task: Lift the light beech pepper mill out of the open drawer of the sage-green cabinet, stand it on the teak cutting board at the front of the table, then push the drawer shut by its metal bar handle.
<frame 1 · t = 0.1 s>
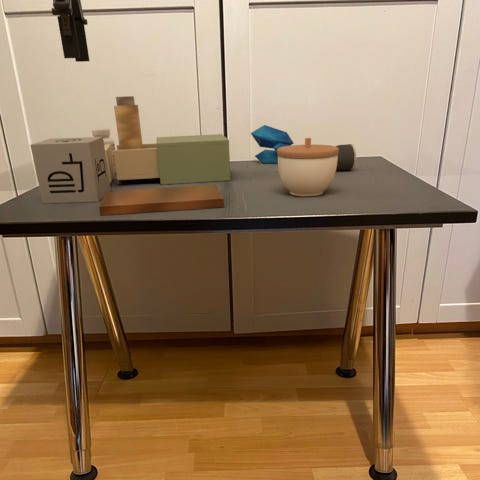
hand: (77, 60, 94), 23 cm above the table, tool pointing down, fingers open, 13 cm apart
pepper mill: (134, 171, 103), point 2 cm above the table, touching drawer
supplement bottle: (107, 173, 116), on the table
cutting board: (162, 203, 83), on the table
flashlight: (319, 172, 107), on the table
cabinet: (193, 177, 106), on the table
drawer: (126, 161, 102), point 4 cm above the table, slide at 10.0 cm, touching pepper mill
icon cube: (78, 197, 91), on the table
trinket box: (306, 194, 88), on the table
crystal: (272, 163, 122), on the table
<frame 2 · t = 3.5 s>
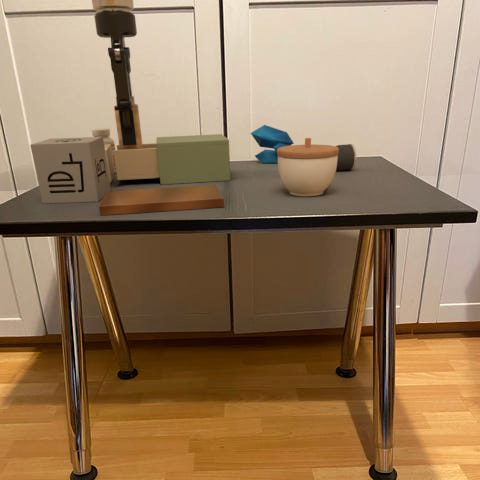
hand: (130, 143, 101), 8 cm above the table, tool pointing down, fingers closed on pepper mill, 5 cm apart
pepper mill: (134, 171, 103), point 2 cm above the table, touching drawer, gripper
everything else where it was.
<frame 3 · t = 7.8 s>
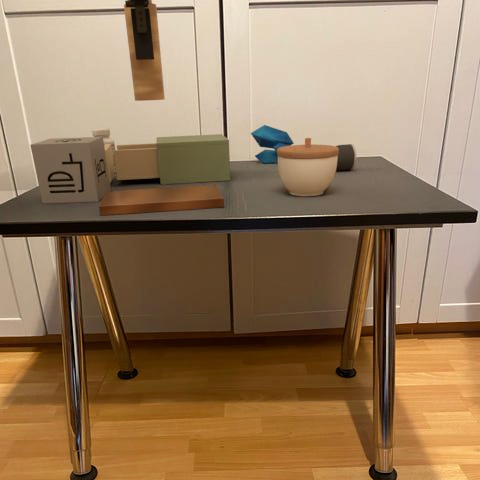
hand: (145, 59, 75), 22 cm above the table, tool pointing down, fingers closed on pepper mill, 5 cm apart
pepper mill: (149, 99, 78), point 16 cm above the table, touching gripper
drawer: (126, 161, 102), point 4 cm above the table, slide at 10.0 cm
everything else where it was.
when the fingers open (7 cm above the table, at t = 12.1 s): pepper mill stays where it is, resting on cutting board.
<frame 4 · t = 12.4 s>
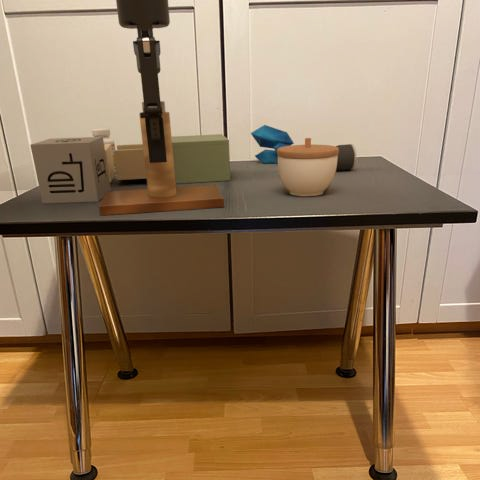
hand: (158, 158, 80), 7 cm above the table, tool pointing down, fingers open, 8 cm apart
pepper mill: (162, 194, 83), point 2 cm above the table, touching cutting board
everything else where it was.
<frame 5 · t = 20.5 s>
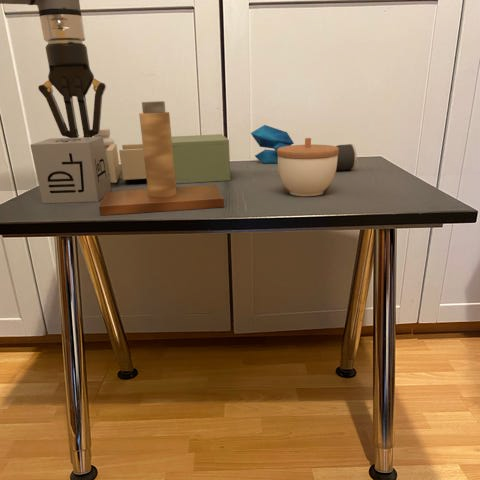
hand: (87, 171, 102), 3 cm above the table, tool pointing down, fingers closed
drawer: (132, 161, 102), point 4 cm above the table, slide at 8.8 cm, touching gripper
everything else where it was.
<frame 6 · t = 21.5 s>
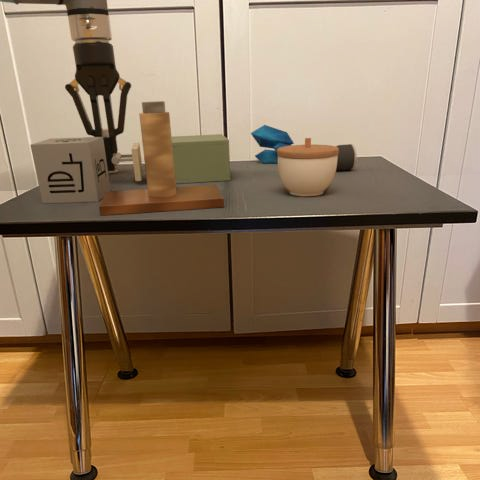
hand: (111, 169, 102), 3 cm above the table, tool pointing down, fingers closed
drawer: (156, 160, 103), point 4 cm above the table, slide at 3.8 cm, touching gripper
everything else where it was.
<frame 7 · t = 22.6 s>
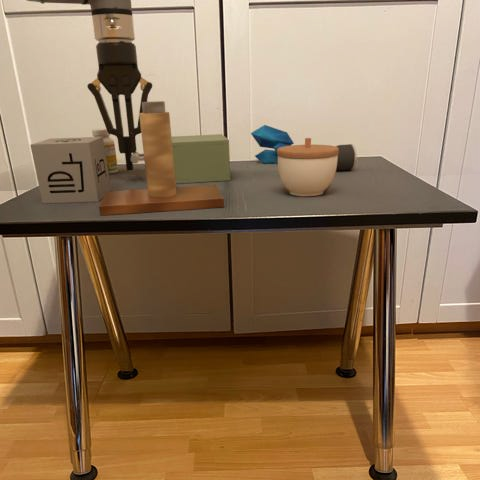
hand: (130, 169, 103), 3 cm above the table, tool pointing down, fingers closed
drawer: (174, 159, 103), point 4 cm above the table, slide at 0.0 cm, touching cabinet, gripper
everything else where it was.
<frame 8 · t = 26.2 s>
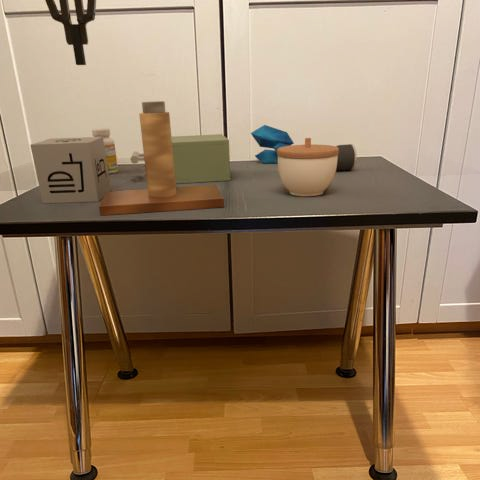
hand: (81, 64, 91), 22 cm above the table, tool pointing down, fingers closed
drawer: (174, 159, 103), point 4 cm above the table, slide at 0.0 cm, touching cabinet
everything else where it was.
at the end: pepper mill inside the target area on the cutting board (0.1 cm from its centre), point 1.5 cm above the cutting board's base; pepper mill tilted 0°; drawer slide at 0.0 cm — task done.
